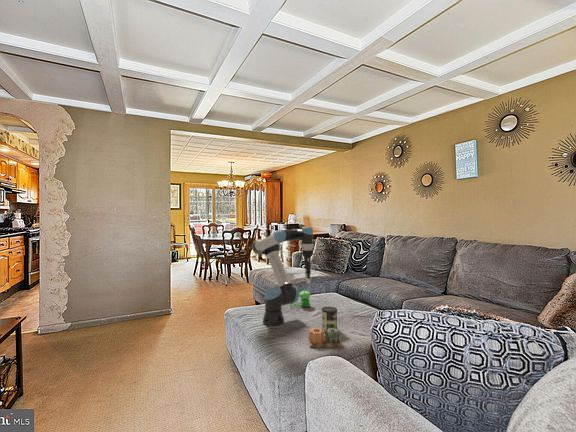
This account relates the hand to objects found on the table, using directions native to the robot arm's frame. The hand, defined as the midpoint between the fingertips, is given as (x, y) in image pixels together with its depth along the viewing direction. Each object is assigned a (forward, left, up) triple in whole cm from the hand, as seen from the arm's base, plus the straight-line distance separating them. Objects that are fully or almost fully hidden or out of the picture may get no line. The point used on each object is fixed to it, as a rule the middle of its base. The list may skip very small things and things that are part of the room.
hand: (307, 280), depth 206 cm
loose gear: (+4, -24, -30) cm, 39 cm away
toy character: (-3, +44, -32) cm, 55 cm away
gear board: (+8, -24, -32) cm, 41 cm away
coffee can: (+14, -5, -32) cm, 35 cm away
